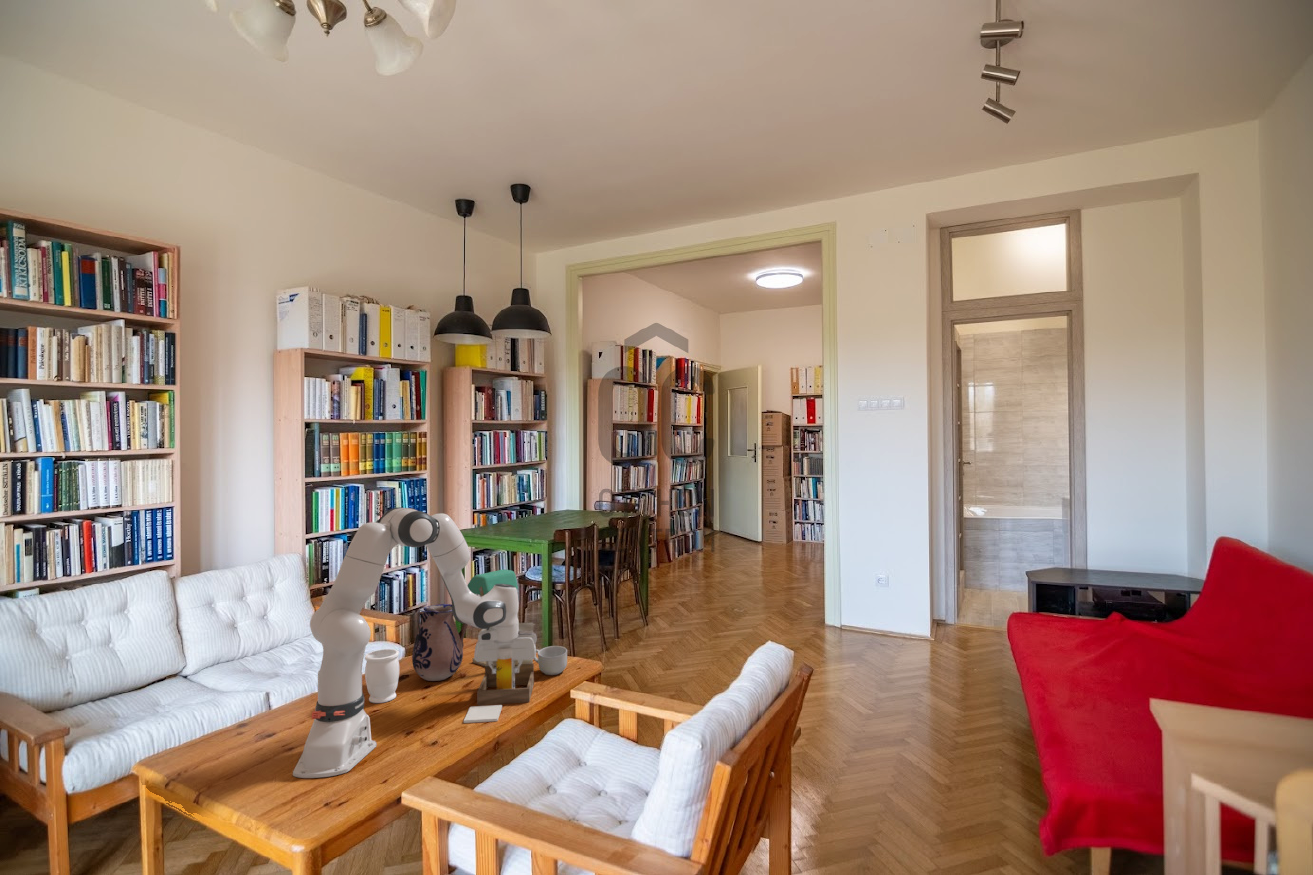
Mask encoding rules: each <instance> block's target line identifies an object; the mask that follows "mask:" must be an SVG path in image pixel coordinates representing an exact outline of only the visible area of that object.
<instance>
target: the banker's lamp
mask: <svg viewBox="0 0 1313 875" xmlns="http://www.w3.org/2000/svg"><path fill="white" fill-rule="evenodd" d="M496 584H509V585H512V586H514V587H516V589H517V590H518V589H519V588H518V580H517V575H516V572H515V571H513V570H510V569H499V570H495V571H489V572H486V573H485V572H484V573H480V574H476V575H474V576H473V577H472V578H471V579H470V580H469V582H468V583H467V586H468V588H469V590H470V591H471V592H472V593H474V594H476V595H477V596H480V597H482V596H484V595H485V594H487V593H488V592H489V591H490V590H491V589H492V588H493V587H494V585H496ZM472 664H475V665H478V666H479V665H480V666H482V667H484V668H485V666H486V661H484V662H477V661H476V660H475V659H474V657H472Z"/></svg>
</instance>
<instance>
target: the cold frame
mask: <svg viewBox="0 0 1313 875" xmlns="http://www.w3.org/2000/svg"><path fill="white" fill-rule="evenodd" d="M519 631H532V632H534V622H519ZM532 634H533V633H532ZM533 661H534V659H530V660H523V661H522V664H521V666H520V667H519V673H515V686H526V687H517V688H516V687H515V688H513V689H497V688H496V689H488V688H493V687H497V683H496V674H492V669H491V668H490V666H489V665H488V661H486V666H485V667H484V676H483V678H482V680H481V682H480V684H479V686H478V688H477V691H476V694H477V697H476V703H477V704H476V705H477V706H488V705H502V704H503V705H505V704H519V703H521V704H522V703H530V700H531V697H532V693H533V688H534V685H535V677H534V676H535V674H534V671H535V670H534V669H535V668H534V666H535V665H534V662H533ZM518 664H519V663H518V660H515V666H518ZM493 665H494V667H496V661H494V662H493Z"/></svg>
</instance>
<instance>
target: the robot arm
mask: <svg viewBox="0 0 1313 875" xmlns="http://www.w3.org/2000/svg"><path fill="white" fill-rule="evenodd" d="M398 545H399V546H404V547H409V548H419V547H422V546H423V547H424V546H425V547H426V548H427V550H428V552H429V553H430V555H431V558H432V561H434V564H435V565H436V566H437V569H438V571H439V573H440V576H441V579H442V581H443V583H444V586H445V588H446V590H447V592H448V594H449V595H448V596H449V597H450V601H451V605H452V612H453V619H454V620H456V621H457V622H458V623H461V624H462V625H463V624H468V626H470V627H474V628H477V629H481V630H480V631H479V632H478V636H477V642H476V644H475V647H474V654H473V656H474V657H473V658H474V659H475V660H476V661H477V662H484V661H488V665H489V666H490V668H491V669H492V674H496V667H494V665H493V662H494V661H497V651H498V650H499V649H498V648H500V649H505V648H511V650H512V660H518V663H519V664H518V666H515V668H514V670H515V671H514V673H519V667H520V666H521V664H522V661H523V660H530V659H533V660H534V658H535V656H536V657H537V652H536V649H537V647H536V643H537V640H538V639H537V638H538V637H537V633H535V632H534V631H533V632H532V631H519V623H520V622H519V618H518V617H519V616H518V614H519V613H518V612H519V608H520V607H519V604H520V603H519V593H518V589H516V587H514V586H512V585H509V584H496V585H494V587H493V588H492V589H491V590H490V591H489V592H488V593H487V594H485V595H484V596H482V597H481V595H478V594H474V593H472V592H471V591H470V590H469V588H468V586H467V585H468V583H467V580H466V578H465V576H464V574H463V571H462V570H463V569H464V568H465V567H466V566H467V565H468V563H469V561H470V558H471V553H470V548H469V545H468V543H467V541H466V538H465V537H464V535H463V533H462V532H461V530H460V529H459V527H458V526H457V524H456V522H455V521H454V520H453V519H452V518H451V516H450V515H448V514H447V513H443V512H441V513H434V514H432V515H430V514H429V513H426V512H424V511H423V510H422V511H420V510H417V509H415V508H411V507H393V508H391V509H389V510H387V511H386V512H385V513H383V515H382V516H381V517H380V518H379V519H377V520H376V521H373V522H372V521H371V522H366V523H363V524H362V525H361V526H360V527H359V528H358V530H357V531H356V532H355V534H354V536H353V538H352V539H351V542H350V544H349V546H348V548H347V549H346V553H345V556H344V558H343V560H342V563H341V565H340V566H339V569H338V570H339V571H338V573H337V575H336V578H335V580H334V582H333V584H332V586H331V588H330V589H329V591H328V593H327V594H326V596H325V598H324V599H323V601H322V603H321V604H320V606H319V608H318V609H317V610H315V611H314V612H313V614H312V616H311V618H310V622H309V628H310V631H311V634H312V636H313V638H314V639H315V641H317V642H318V643H320V644H321V645H322V659H321V664H320V668H319V670H318V672H317V701H316V705H315V709H314V710H313V711H312V712H311V720H313V722H312V725H311V728H310V730H309V732H308V733H309V734H308V735H307V738H306V740H305V744H304V747H303V752H302V753H301V756H300V758H299V760H298V762H297V763H296V765H295V767H294V768H293V771H292V776H293V777H295V778H300V779H315V778H316V779H317V778H318V779H319V778H327V777H333V776H337V775H343V774H346V773H348V772H349V771H351V770H352V769H353V768H354V767H355V766H356V765H357V764H358V763H360V762H361V761H362V760H363V759H364V758H365V757H366V756H368V754H370V753H371V752H372V751H373V750H374V749H375V748H377V741H376V740H373V739H372V733H371V719H370V718H371V717H370V716H369V714H368V713H366V711H365V710H364V708H365V695H364V693H363V664H364V663H363V662H364V659H365V652H366V647H367V645H368V644H369V642H370V639H371V628H370V626H369V623H368V622H367V620H366V619H365V618H364V616H362V615H361V611H362V610H363V607H365V604H366V603H367V601H368V600H369V599H370V598H371V597H372V596H373V595H374V594H375V592H376V591H377V588H378V585H379V582H380V580H381V577H382V574H383V572H384V569H385V566H386V564H387V560H388V557H389V555H390V553H391V552H392V550H393V549H394V548H395V547H396V546H398ZM532 633H533V634H532Z"/></svg>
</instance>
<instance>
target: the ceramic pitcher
mask: <svg viewBox="0 0 1313 875" xmlns="http://www.w3.org/2000/svg"><path fill="white" fill-rule="evenodd" d="M422 609H423V610H421V611H419V612H418V614H419V626H418V628H417V633H416V636H415V638H414V639H415V640H414V644H413V647H412V653H411V660H412V666H413V669H414V672H415V673H416V674H417V675H418V676H419V677H420V678H422V679H423V680H425V681H429V682H436V681H437V682H438V681H439V682H440V681H445V680H447V679H448V678H450V677H451V676H453V675H454V674H455V673H456V672H457V671H458V670H459V668H460V666H462V662H463V658H464V646H465V645H464V638H465V635H466V631H467V628H468V626H469V625H468V624H463V623H462V626H461V629H460V631H459V630H458V628H457V625H456V622H455V618H454V616H453V612H452V603H449V604H448V603H440V604H439V603H438V604H433V605H432V604H431V605H428V606H425V607H423V608H422Z"/></svg>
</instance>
